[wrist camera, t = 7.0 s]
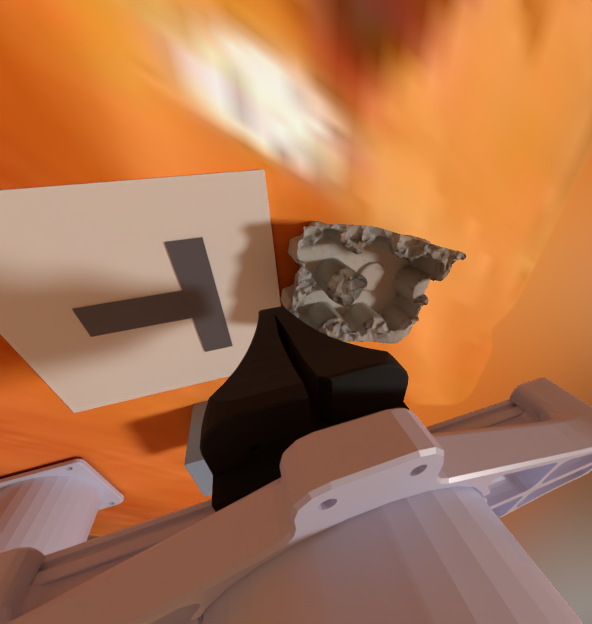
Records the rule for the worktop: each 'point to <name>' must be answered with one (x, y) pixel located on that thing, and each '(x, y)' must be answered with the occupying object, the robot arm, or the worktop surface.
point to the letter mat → (135, 281)
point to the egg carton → (362, 280)
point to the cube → (198, 452)
